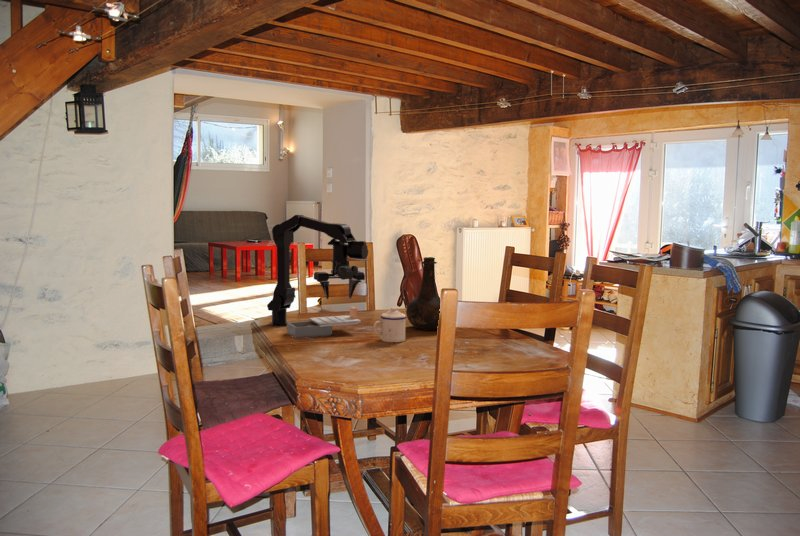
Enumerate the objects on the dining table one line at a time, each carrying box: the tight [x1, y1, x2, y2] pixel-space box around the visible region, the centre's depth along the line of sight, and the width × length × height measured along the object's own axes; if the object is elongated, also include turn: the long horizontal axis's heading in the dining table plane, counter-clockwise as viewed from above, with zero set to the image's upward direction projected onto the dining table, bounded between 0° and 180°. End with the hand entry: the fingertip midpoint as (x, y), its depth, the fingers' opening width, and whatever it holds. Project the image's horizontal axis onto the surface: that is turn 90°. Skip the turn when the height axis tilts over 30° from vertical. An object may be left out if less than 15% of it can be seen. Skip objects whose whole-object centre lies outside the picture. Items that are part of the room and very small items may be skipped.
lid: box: [309, 306, 362, 327], centre depth 238 cm, size 12×16×5 cm
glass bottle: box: [405, 256, 441, 331], centre depth 249 cm, size 18×18×28 cm
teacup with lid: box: [373, 307, 407, 343], centre depth 227 cm, size 12×9×12 cm
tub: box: [286, 320, 333, 339], centre depth 234 cm, size 10×14×4 cm
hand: (338, 298), depth 241 cm, fingers open, 9 cm apart
